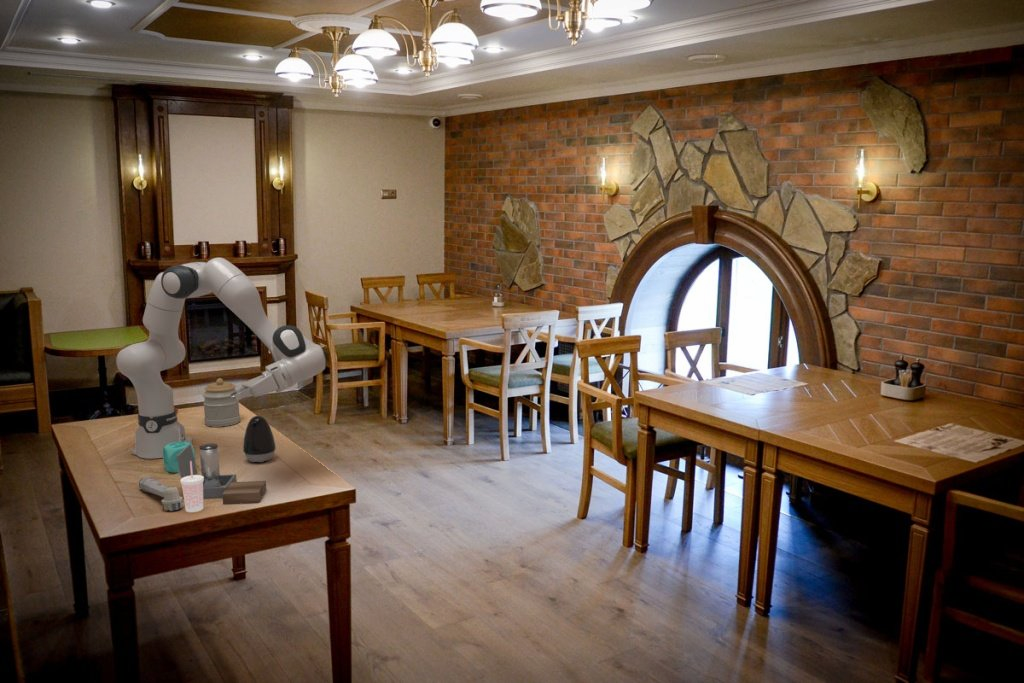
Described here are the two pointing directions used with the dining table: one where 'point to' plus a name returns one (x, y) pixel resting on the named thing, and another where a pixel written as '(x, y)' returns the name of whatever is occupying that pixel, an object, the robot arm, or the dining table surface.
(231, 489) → the walnut block
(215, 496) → the equipment case
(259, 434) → the black egg-shaped speaker
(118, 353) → the robot arm
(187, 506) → the beverage cup
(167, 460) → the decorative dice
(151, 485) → the grey flashlight
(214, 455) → the steel canister
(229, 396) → the jar
